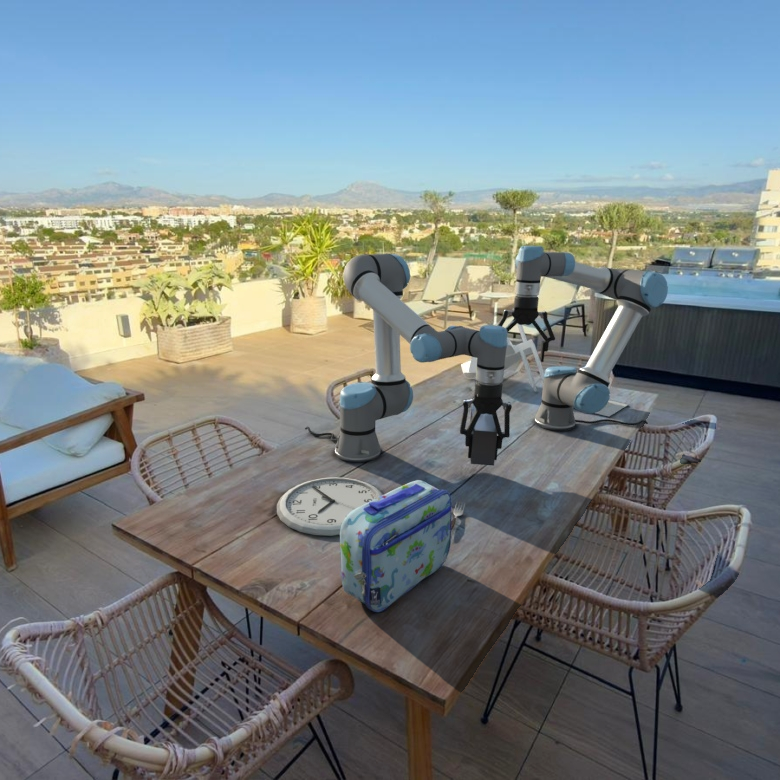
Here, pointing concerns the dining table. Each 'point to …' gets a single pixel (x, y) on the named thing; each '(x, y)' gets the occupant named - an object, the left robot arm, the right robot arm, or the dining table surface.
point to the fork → (457, 514)
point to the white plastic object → (511, 358)
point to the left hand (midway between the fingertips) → (482, 457)
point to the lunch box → (394, 543)
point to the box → (483, 439)
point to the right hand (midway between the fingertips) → (520, 360)
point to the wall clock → (323, 504)
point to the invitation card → (611, 408)
